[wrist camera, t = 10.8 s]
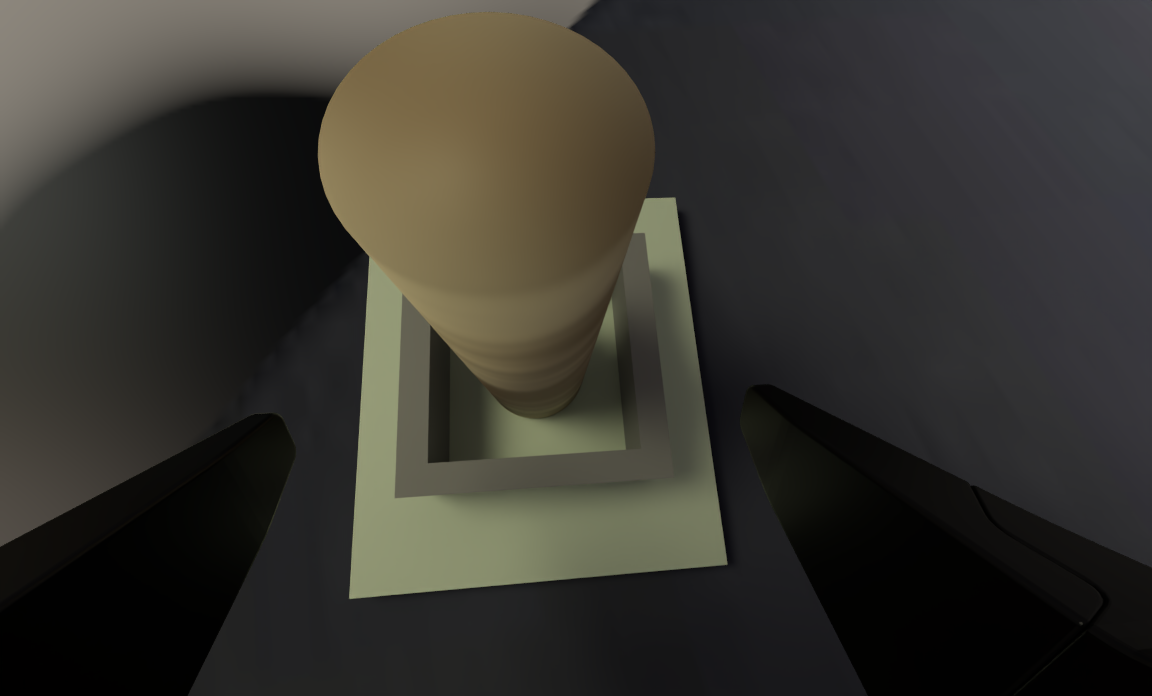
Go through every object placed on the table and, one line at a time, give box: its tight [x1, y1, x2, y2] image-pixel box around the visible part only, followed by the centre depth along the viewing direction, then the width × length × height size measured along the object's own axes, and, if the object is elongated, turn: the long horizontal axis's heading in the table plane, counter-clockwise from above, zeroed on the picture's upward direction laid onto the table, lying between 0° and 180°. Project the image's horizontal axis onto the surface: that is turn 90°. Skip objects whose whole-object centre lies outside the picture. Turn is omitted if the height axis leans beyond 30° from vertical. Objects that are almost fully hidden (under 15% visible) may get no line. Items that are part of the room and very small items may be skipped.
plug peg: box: [318, 12, 655, 418], centre depth 11 cm, size 4×4×13 cm
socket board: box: [349, 198, 728, 599], centre depth 17 cm, size 16×14×4 cm
